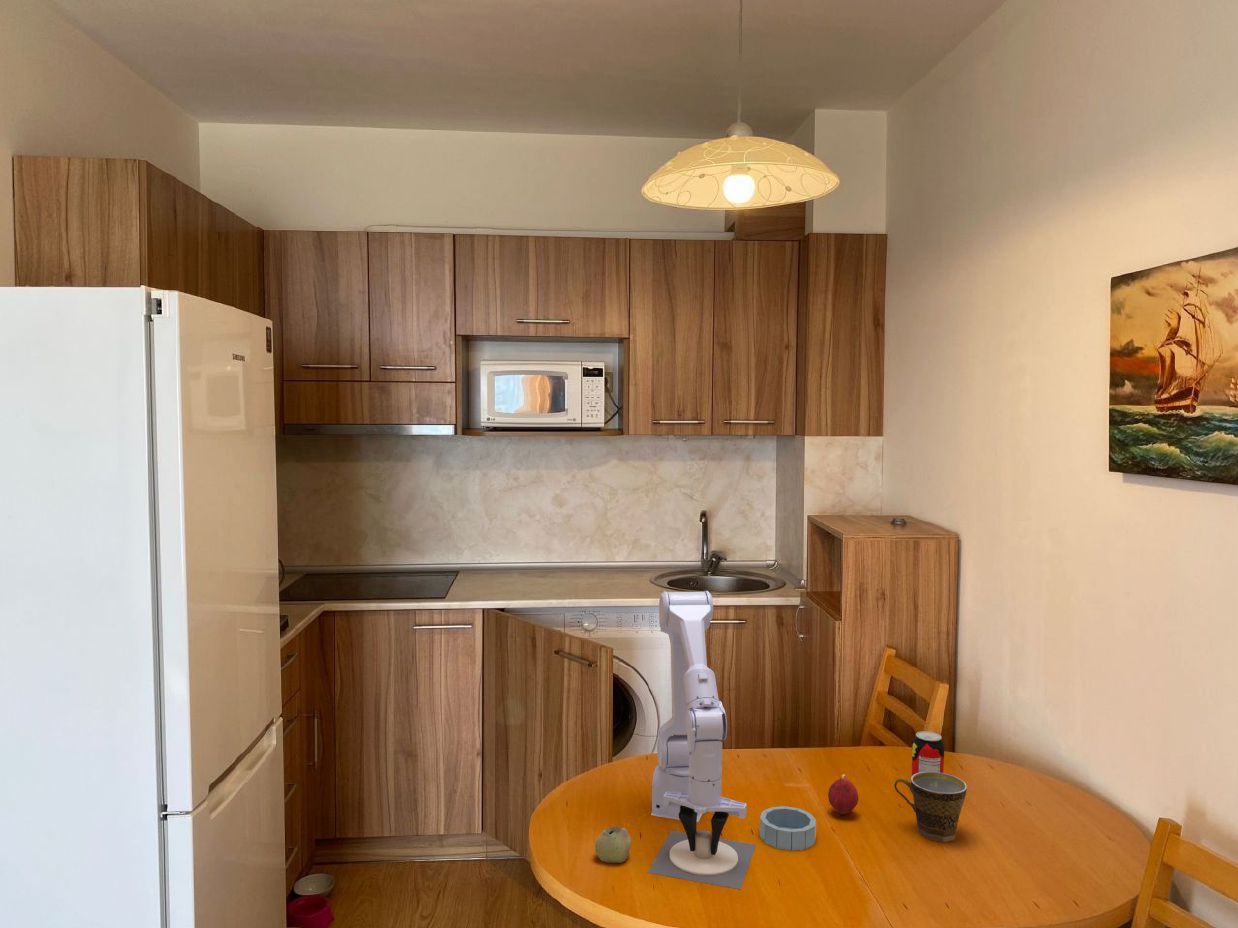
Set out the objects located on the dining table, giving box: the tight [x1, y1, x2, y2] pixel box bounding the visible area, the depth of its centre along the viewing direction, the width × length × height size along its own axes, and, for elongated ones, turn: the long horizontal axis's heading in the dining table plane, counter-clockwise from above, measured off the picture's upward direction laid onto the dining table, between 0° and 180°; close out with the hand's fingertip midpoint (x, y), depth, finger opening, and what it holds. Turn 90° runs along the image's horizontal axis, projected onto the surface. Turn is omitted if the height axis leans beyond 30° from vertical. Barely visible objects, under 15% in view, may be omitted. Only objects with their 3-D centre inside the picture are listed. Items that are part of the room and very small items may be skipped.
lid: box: [670, 830, 738, 876], centre depth 158 cm, size 12×12×4 cm
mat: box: [647, 830, 757, 890], centre depth 158 cm, size 16×16×1 cm
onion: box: [827, 773, 859, 816], centre depth 177 cm, size 6×6×8 cm
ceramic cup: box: [893, 772, 968, 843], centre depth 170 cm, size 13×10×10 cm
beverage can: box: [910, 730, 945, 778], centre depth 188 cm, size 6×6×12 cm
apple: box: [594, 826, 632, 864], centre depth 158 cm, size 6×8×6 cm
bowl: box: [759, 805, 817, 852], centre depth 166 cm, size 10×10×4 cm
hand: (703, 850), depth 158 cm, fingers closed on lid, 3 cm apart
